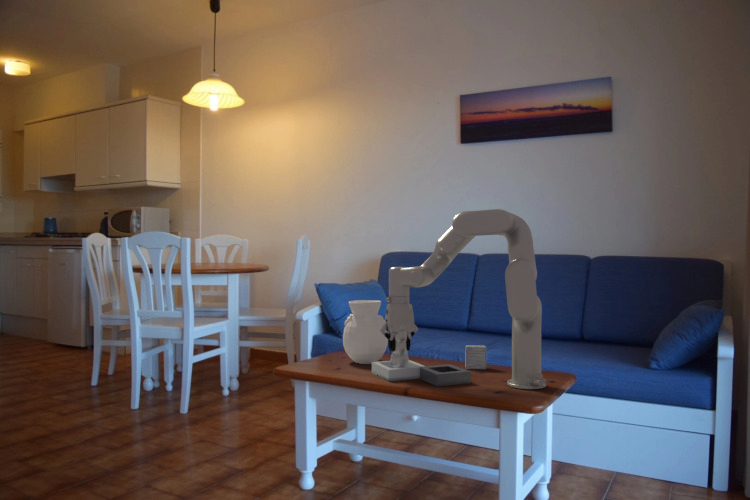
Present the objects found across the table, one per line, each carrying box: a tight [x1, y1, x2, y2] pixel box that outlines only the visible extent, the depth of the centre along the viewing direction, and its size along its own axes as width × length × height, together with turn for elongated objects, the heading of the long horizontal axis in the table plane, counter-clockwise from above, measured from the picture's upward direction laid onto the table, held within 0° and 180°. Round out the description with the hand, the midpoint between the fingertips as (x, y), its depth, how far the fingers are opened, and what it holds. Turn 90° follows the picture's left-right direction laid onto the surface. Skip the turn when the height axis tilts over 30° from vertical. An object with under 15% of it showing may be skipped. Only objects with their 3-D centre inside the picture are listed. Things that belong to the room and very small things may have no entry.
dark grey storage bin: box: [419, 363, 472, 387], centre depth 202 cm, size 14×13×4 cm
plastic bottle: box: [389, 326, 410, 368], centre depth 211 cm, size 6×7×20 cm
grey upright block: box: [464, 344, 487, 370], centre depth 224 cm, size 8×4×9 cm, turn 84°
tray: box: [371, 359, 426, 382], centre depth 211 cm, size 16×15×4 cm
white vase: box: [342, 299, 388, 365], centre depth 237 cm, size 19×18×25 cm
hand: (399, 349), depth 211 cm, fingers closed on plastic bottle, 5 cm apart
